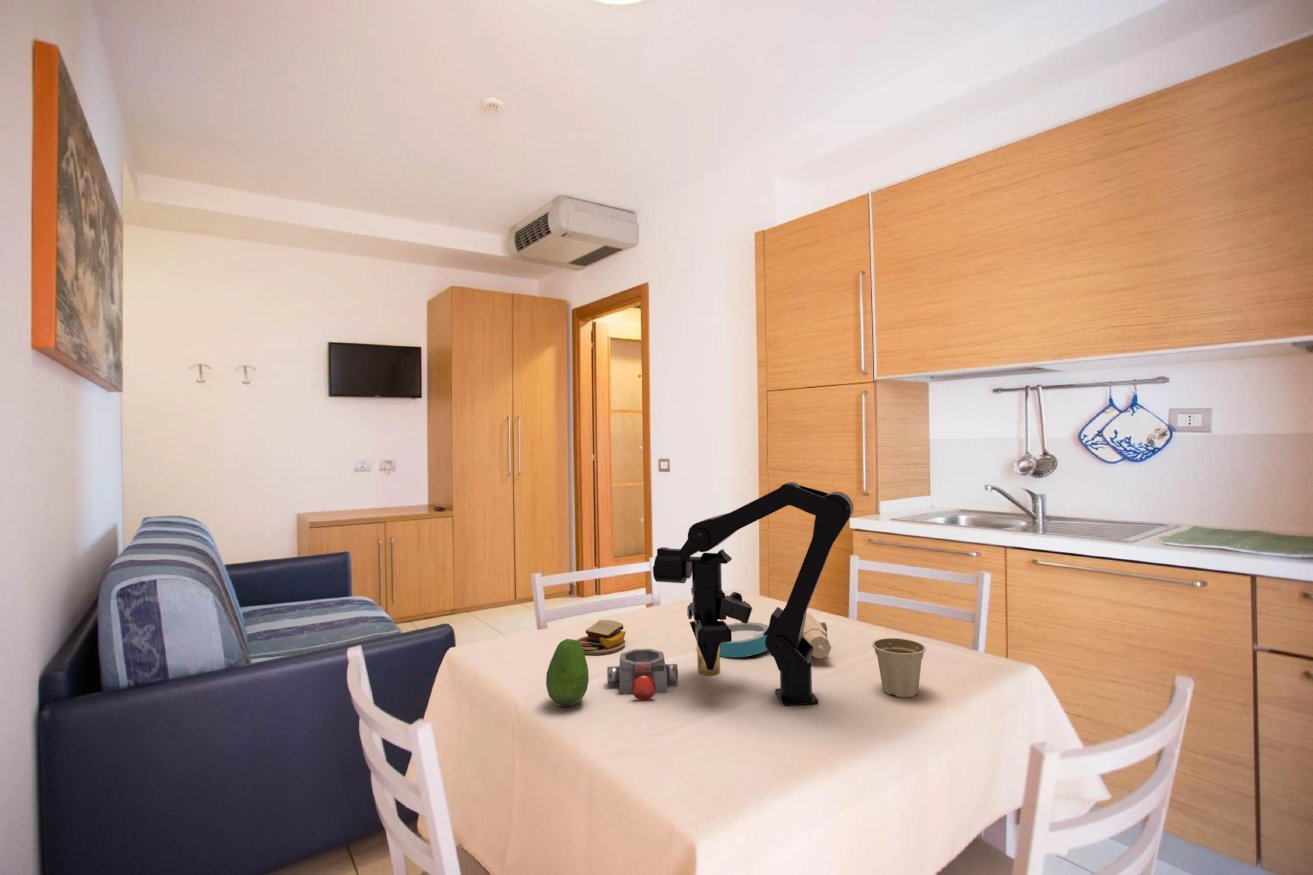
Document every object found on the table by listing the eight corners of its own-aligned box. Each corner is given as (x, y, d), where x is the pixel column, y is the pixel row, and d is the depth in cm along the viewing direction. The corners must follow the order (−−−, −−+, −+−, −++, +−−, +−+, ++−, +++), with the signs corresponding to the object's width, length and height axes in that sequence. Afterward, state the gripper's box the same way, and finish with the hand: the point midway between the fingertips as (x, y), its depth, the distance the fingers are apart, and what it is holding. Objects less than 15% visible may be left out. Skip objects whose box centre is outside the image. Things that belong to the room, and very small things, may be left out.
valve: (681, 698, 115) (680, 669, 115) (606, 702, 114) (606, 672, 114) (675, 673, 127) (674, 647, 127) (608, 676, 126) (607, 649, 126)
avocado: (593, 709, 111) (591, 642, 111) (549, 716, 109) (547, 647, 109) (585, 693, 118) (584, 630, 119) (544, 698, 116) (542, 634, 116)
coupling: (722, 675, 118) (721, 646, 118) (699, 676, 118) (698, 647, 118) (718, 667, 122) (717, 639, 122) (696, 668, 122) (695, 640, 122)
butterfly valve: (702, 683, 129) (845, 665, 129) (698, 650, 129) (841, 632, 129) (697, 642, 156) (815, 627, 155) (693, 615, 156) (811, 600, 155)
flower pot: (862, 686, 118) (861, 641, 119) (900, 678, 122) (898, 634, 122) (899, 705, 110) (898, 656, 110) (938, 695, 113) (937, 648, 114)
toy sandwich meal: (561, 649, 145) (560, 629, 145) (601, 635, 155) (601, 616, 155) (598, 660, 137) (598, 639, 137) (639, 644, 147) (638, 624, 147)
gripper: (758, 594, 111) (760, 681, 111) (738, 573, 130) (740, 647, 130) (697, 597, 111) (699, 684, 111) (686, 575, 129) (688, 650, 129)
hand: (708, 665), depth 120 cm, fingers closed on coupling, 4 cm apart
